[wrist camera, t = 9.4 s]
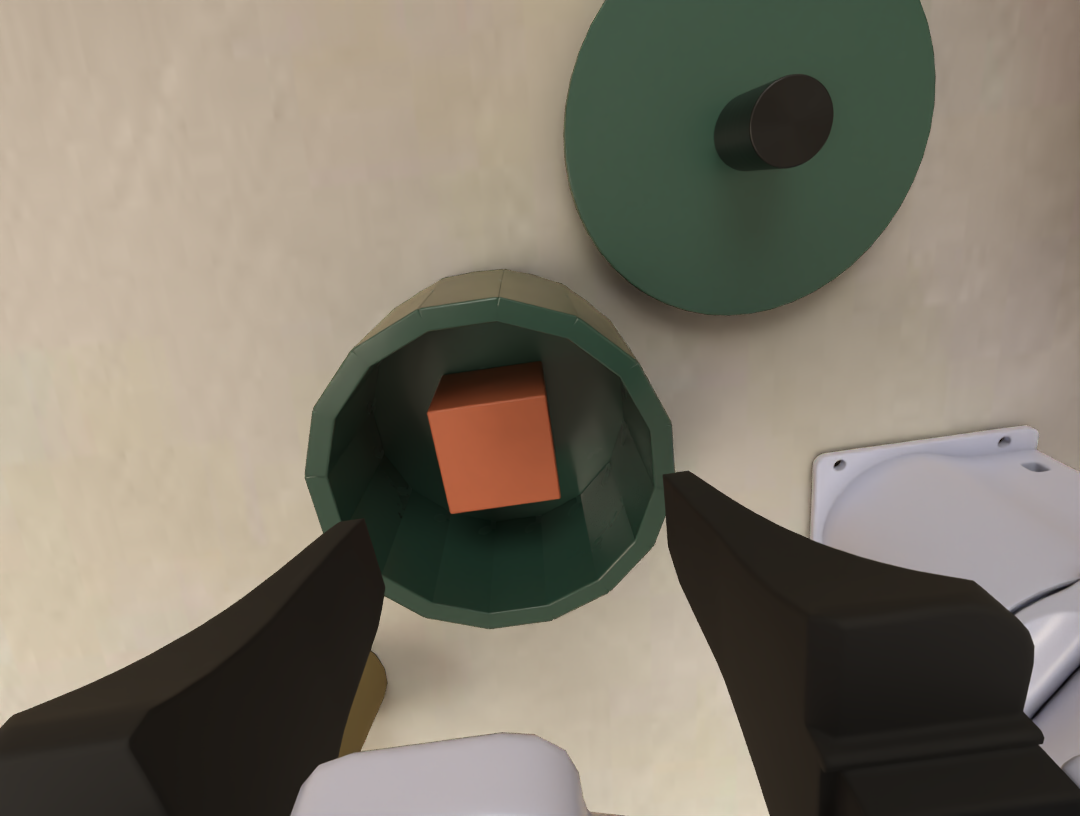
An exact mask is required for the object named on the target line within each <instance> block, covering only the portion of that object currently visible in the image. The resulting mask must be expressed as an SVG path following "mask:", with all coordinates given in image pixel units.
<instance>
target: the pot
mask: <svg viewBox="0 0 1080 816" xmlns="http://www.w3.org/2000/svg"><path fill="white" fill-rule="evenodd" d="M537 361H541V362H542V366H543V373H544V380H545V386H546V393H547V400H548V407H549V414H550V421H551V427H552V434H553V441H554V448H555V455H556V463H557V470H558V478H559V486H560V493H561V497H560V499H555V500H548V501H541V502H534V503H527V504H520V505H512V506H505V507H498V508H491V509H484V510H477V511H470V512H463V513H455V514H451V513H450V511H449V506H448V502H447V498H446V493H445V489H444V485H443V480H442V476H441V472H440V468H439V463H438V459H437V455H436V450H435V446H434V442H433V437H432V433H431V429H430V424H429V420H428V416H427V411H428V409H429V407H430V404H431V402H432V399H433V397H434V394H435V392H436V390H437V387H438V385H439V382H440V380H441V378H442V376H443V375H448V374H455V373H461V372H468V371H475V370H482V369H489V368H496V367H503V366H510V365H516V364H523V363H530V362H537ZM669 473H675V465H674V449H673V432H672V424H671V420H670V419H669V417H668V415H667V413H666V411H665V409H664V408H663V406H662V404H661V402H660V400H659V398H658V397H657V395H656V393H655V391H654V389H653V388H652V386H651V384H650V382H649V380H648V378H647V377H646V375H645V373H644V371H643V369H642V367H641V366H640V364H639V362H638V361H637V359H636V358H635V356H634V355H633V353H632V352H631V350H630V349H629V348H628V346H627V345H626V343H625V342H624V340H623V339H622V337H621V336H620V334H619V333H618V331H617V330H616V328H615V327H614V325H613V324H612V322H611V321H610V320H609V319H608V318H607V317H606V316H604V315H603V314H602V313H601V312H599V311H598V310H597V309H595V308H594V307H593V306H592V305H591V304H590V303H589V302H587V301H586V300H585V299H583V298H582V297H580V296H579V295H577V294H576V293H574V292H573V291H572V290H570V289H569V288H568V287H567V286H565V285H563V284H562V283H558V282H554V281H551V280H548V279H545V278H542V277H539V276H536V275H532V274H527V273H522V272H516V271H511V270H507V269H504V270H503V269H499V270H489V271H477V272H471V273H466V274H462V275H457V276H452V277H446V278H443V279H441V280H439V281H438V282H436V283H434V284H433V285H431V286H430V287H428V288H426V289H424V290H422V291H420V292H419V293H418V294H416V295H415V296H413V297H412V298H410V299H409V300H407V301H406V302H404V303H402V304H401V305H399V306H398V307H396V308H394V309H393V310H392V311H391V312H390V313H389V314H388V315H387V316H386V317H385V318H384V319H383V320H382V321H381V322H380V323H379V324H378V325H377V326H376V327H375V328H374V329H373V330H372V331H371V332H370V333H368V334H367V335H366V336H365V337H364V338H363V339H362V340H361V341H360V342H359V343H358V344H357V345H356V346H355V347H354V348H353V349H352V350H351V351H350V352H349V354H348V355H347V357H346V359H345V360H344V362H343V363H342V365H341V366H340V368H339V369H338V371H337V372H336V374H335V375H334V377H333V378H332V380H331V381H330V383H329V385H328V386H327V388H326V389H325V391H324V392H323V394H322V395H321V397H320V398H319V400H318V401H317V403H316V404H315V406H314V408H313V411H312V418H311V426H310V434H309V442H308V451H307V459H306V467H305V480H306V483H307V486H308V489H309V492H310V495H311V498H312V501H313V504H314V507H315V510H316V513H317V516H318V519H319V522H320V525H321V528H322V531H323V533H325V532H326V531H327V530H329V529H330V528H331V527H333V526H334V525H336V524H337V523H339V522H342V521H348V520H355V519H362V518H364V519H365V522H366V525H367V529H368V532H369V535H370V538H371V542H372V545H373V548H374V551H375V555H376V558H377V561H378V564H379V568H380V571H381V574H382V578H383V581H384V584H385V593H384V596H386V597H387V598H389V599H391V600H393V601H395V602H397V603H398V604H400V605H402V606H404V607H406V608H408V609H409V610H411V611H413V612H415V613H417V614H419V615H421V616H422V617H425V618H429V619H435V620H440V621H446V622H451V623H457V624H463V625H468V626H474V627H480V628H485V629H495V628H502V627H509V626H517V625H524V624H532V623H539V622H546V621H552V620H553V619H556V618H558V617H560V616H562V615H564V614H566V613H568V612H571V611H573V610H575V609H577V608H579V607H581V606H583V605H585V604H587V603H589V602H591V601H593V600H595V599H597V598H599V597H601V596H603V595H605V594H607V593H608V592H609V591H611V590H612V589H613V588H614V587H615V586H616V585H617V584H618V583H619V582H620V581H621V580H622V579H623V578H624V577H625V576H626V575H627V574H628V573H629V572H630V570H631V569H632V568H633V567H634V566H635V565H636V564H637V563H638V562H639V561H640V560H641V559H642V558H643V557H644V556H645V555H646V554H647V553H648V552H649V551H650V550H651V548H652V547H653V546H654V544H655V542H656V539H657V536H658V534H659V531H660V529H661V526H662V524H663V521H664V518H665V516H666V512H665V500H664V487H663V474H669Z"/></svg>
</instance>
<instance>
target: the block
mask: <svg viewBox="0 0 1080 816" xmlns="http://www.w3.org/2000/svg"><path fill="white" fill-rule="evenodd" d="M427 416H428V420H429V424H430V429H431V433H432V437H433V442H434V446H435V450H436V455H437V459H438V463H439V468H440V472H441V476H442V480H443V485H444V489H445V493H446V498H447V502H448V506H449V511H450V513H451V514H455V513H463V512H470V511H477V510H484V509H491V508H498V507H505V506H512V505H520V504H527V503H534V502H541V501H548V500H555V499H560V497H561V493H560V486H559V478H558V470H557V463H556V455H555V448H554V441H553V434H552V427H551V421H550V414H549V407H548V400H547V393H546V386H545V380H544V373H543V366H542V362H541V361H537V362H530V363H523V364H516V365H510V366H503V367H496V368H489V369H482V370H475V371H468V372H461V373H455V374H448V375H443V376H442V378H441V380H440V382H439V385H438V387H437V390H436V392H435V394H434V397H433V399H432V402H431V404H430V407H429V409H428V411H427Z"/></svg>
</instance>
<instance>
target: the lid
mask: <svg viewBox="0 0 1080 816" xmlns="http://www.w3.org/2000/svg"><path fill="white" fill-rule="evenodd" d="M934 100H935V64H934V51H933V46H932V41H931V36H930V31H929V26H928V22H927V19H926V17H925V14H924V11H923V8H922V5H921V2H920V0H605V1H604V3H603V5H602V7H601V8H600V10H599V12H598V13H597V15H596V17H595V19H594V20H593V22H592V24H591V26H590V28H589V30H588V33H587V35H586V37H585V40H584V42H583V44H582V46H581V49H580V51H579V53H578V56H577V60H576V63H575V66H574V70H573V73H572V76H571V79H570V84H569V89H568V95H567V100H566V106H565V117H564V132H563V138H564V157H565V165H566V171H567V177H568V182H569V187H570V190H571V194H572V197H573V200H574V203H575V207H576V210H577V212H578V214H579V216H580V218H581V221H582V223H583V225H584V227H585V229H586V231H587V233H588V234H589V236H590V238H591V239H592V241H593V243H594V244H595V246H596V247H597V249H598V250H599V252H600V253H601V254H602V255H603V256H604V258H605V259H606V260H607V261H608V262H609V264H610V265H611V266H612V267H613V268H614V269H615V270H616V271H617V272H618V273H620V274H621V275H622V276H623V277H624V278H625V279H626V280H627V281H628V282H629V283H631V284H632V285H634V286H635V287H637V288H638V289H640V290H641V291H643V292H644V293H645V294H647V295H649V296H651V297H653V298H655V299H657V300H659V301H661V302H663V303H665V304H667V305H670V306H673V307H676V308H679V309H682V310H685V311H690V312H695V313H701V314H706V315H725V316H730V315H742V314H751V313H756V312H761V311H766V310H770V309H774V308H777V307H779V306H782V305H785V304H788V303H791V302H794V301H796V300H798V299H800V298H802V297H804V296H806V295H808V294H810V293H812V292H814V291H816V290H817V289H819V288H821V287H822V286H824V285H825V284H827V283H829V282H830V281H832V280H833V279H835V278H836V277H837V276H838V275H840V274H841V273H842V272H843V271H845V270H846V269H847V268H849V267H850V266H851V265H852V264H853V263H854V262H855V261H856V260H857V259H858V258H860V257H861V256H862V255H863V254H864V253H865V252H866V251H867V250H868V249H869V248H870V247H871V245H872V244H873V243H874V242H875V241H876V239H877V238H878V237H879V236H880V235H881V233H882V232H883V231H884V230H885V228H886V227H887V226H888V224H889V223H890V221H891V220H892V218H893V217H894V215H895V214H896V212H897V211H898V209H899V208H900V206H901V204H902V202H903V200H904V199H905V197H906V195H907V193H908V191H909V189H910V187H911V185H912V183H913V181H914V178H915V176H916V173H917V171H918V168H919V166H920V163H921V161H922V158H923V155H924V151H925V148H926V144H927V140H928V137H929V133H930V128H931V122H932V116H933V109H934Z"/></svg>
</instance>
